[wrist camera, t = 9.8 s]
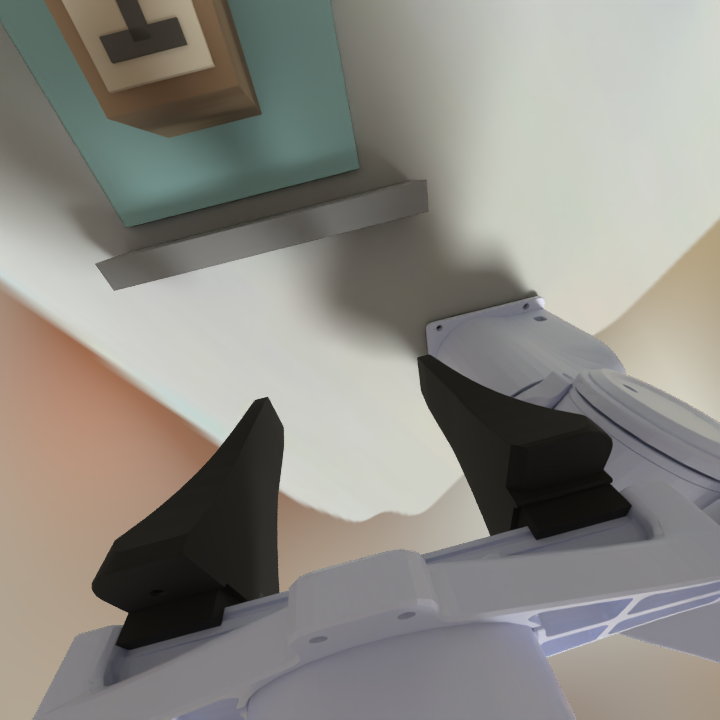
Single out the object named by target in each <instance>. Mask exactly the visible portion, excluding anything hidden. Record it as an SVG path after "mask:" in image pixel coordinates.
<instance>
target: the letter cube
mask: <svg viewBox="0 0 720 720" xmlns="http://www.w3.org/2000/svg"><path fill="white" fill-rule="evenodd" d="M44 1H45V3H46V5H47V7H48V9H49V11H50V13H51V14H52V16H53V18H54V20H55V22H56V24H57V26H58V27H59V29H60V31H61V33H62V35H63V37H64V39H65V41H66V42H67V44H68V46H69V48H70V50H71V52H72V54H73V55H74V57H75V59H76V61H77V63H78V65H79V67H80V68H81V70H82V72H83V74H84V76H85V78H86V80H87V81H88V83H89V85H90V87H91V89H92V91H93V93H94V95H95V96H96V98H97V100H98V102H99V104H100V106H101V108H102V109H103V111H104V113H105V115H106V117H107V119H110V120H113V121H116V122H119V123H122V124H126V125H129V126H132V127H135V128H138V129H142V130H145V131H148V132H151V133H154V134H158V135H161V136H164V137H167V138H171V137H175V136H179V135H183V134H187V133H190V132H194V131H198V130H202V129H206V128H210V127H214V126H218V125H222V124H226V123H230V122H234V121H238V120H242V119H245V118H249V117H253V116H257V115H261V114H262V112H261V109H260V105H259V102H258V99H257V96H256V92H255V89H254V86H253V82H252V79H251V76H250V73H249V69H248V66H247V63H246V59H245V56H244V53H243V50H242V46H241V43H240V40H239V36H238V33H237V30H236V27H235V23H234V20H233V17H232V13H231V10H230V7H229V4H228V0H44Z"/></svg>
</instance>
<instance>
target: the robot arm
mask: <svg viewBox="0 0 720 720" xmlns="http://www.w3.org/2000/svg"><path fill="white" fill-rule="evenodd" d="M544 302H545V300H544V298H542V297H540V296H535V297H531V298H527V299H523V300H519V301H515V302H511V303H507V304H503V305H499V306H495V307H491V308H487V309H483V310H479V311H475V312H471V313H467V314H463V315H458V316H454V317H450V318H446V319H442V320H438V321H434V322H431V323H429V324H428V325H427V326H426V336H427V346H428V355H425V356H422V357H418V358H417V360H418V368H419V377H420V385H421V392H422V394H423V396H424V399H425V401H426V403H427V406H428V408H429V410H430V412H431V413H432V415H433V417H434V418H435V420H436V422H437V423H438V425H439V427H440V429H441V430H442V432H443V434H444V435H445V437H446V439H447V440H448V442H449V444H450V445H451V447H452V449H453V451H454V453H455V455H456V457H457V459H458V461H459V463H460V466H461V468H462V470H463V472H464V474H465V477H466V479H467V481H468V483H469V486H470V488H471V490H472V492H473V495H474V497H475V499H476V502H477V504H478V507H479V509H480V511H481V514H482V516H483V519H484V521H485V523H486V526H487V528H488V531H489V533H490V536H489V537H486V538H482V539H478V540H474V541H471V542H467V543H463V544H460V545H456V546H452V547H449V548H445V549H441V550H438V551H434V552H430V553H426V554H423V555H420V554H419V553H417V552H416V551H412V550H406V549H399V550H392V551H386V552H382V553H379V554H375V555H372V556H367V557H364V558H360V559H356V560H353V561H349V562H345V563H341V564H338V565H334V566H331V567H327V568H323V569H319V570H316V571H312V572H310V573H308V574H305V575H303V576H301V577H299V578H298V579H297V580H296V581H295V582H294V583H293V584H292V585H291V586H290V588H289V591H285V592H281V593H279V579H278V552H277V551H278V550H277V508H278V491H279V483H280V475H281V467H282V459H283V450H284V427H283V425H282V423H281V421H280V419H279V417H278V415H277V413H276V411H275V409H274V408H273V406H272V404H271V402H270V400H269V398H268V397H265V398H261V399H257V400H255V401H254V402H253V404H252V405H251V406H250V408H249V409H248V410H247V412H246V413H245V415H244V416H243V418H242V419H241V420H240V422H239V423H238V424H237V426H236V427H235V429H234V430H233V431H232V433H231V434H230V435H229V437H228V438H227V439H226V440H225V442H224V443H223V444H222V445H221V447H220V448H219V449H218V450H217V452H216V453H215V454H214V455H213V456H212V457H211V459H210V460H209V461H208V462H207V463H206V464H205V465H204V466H203V467H202V468H201V469H200V470H199V471H198V472H197V473H196V474H195V475H194V476H193V477H192V478H191V479H190V480H189V481H188V482H187V483H186V484H185V485H184V486H183V487H182V488H181V489H180V490H179V491H177V492H176V493H175V494H174V495H173V496H172V497H171V498H169V499H168V500H167V501H166V502H165V503H164V504H163V505H161V506H160V507H159V508H158V509H156V510H155V511H154V512H153V513H151V514H150V515H149V516H148V517H146V518H145V519H144V520H142V521H141V522H140V523H138V524H137V525H136V526H134V527H133V528H131V529H130V530H129V531H128V532H126V533H125V534H123V535H122V536H121V537H119V538H118V539H116V540H115V541H114V543H113V545H112V547H111V549H110V551H109V552H108V554H107V556H106V558H105V560H104V562H103V564H102V565H101V567H100V569H99V571H98V573H97V575H96V577H95V578H94V580H93V582H92V590H93V592H94V593H95V595H96V596H97V597H98V598H100V599H102V600H103V601H105V602H107V603H109V604H111V605H113V606H115V607H118V608H120V609H122V610H124V611H126V612H128V616H127V618H126V621H125V623H124V625H112V626H107V627H104V628H99V629H96V630H92V631H88V632H85V633H81V634H79V635H77V636H76V637H75V638H74V640H73V642H72V644H71V646H70V648H69V650H68V652H67V654H66V656H65V658H64V660H63V661H62V663H61V666H60V667H59V669H58V671H57V673H56V675H55V677H54V679H53V681H52V683H51V685H50V687H49V689H48V690H47V692H46V694H45V696H44V698H43V700H42V702H41V704H40V706H39V708H38V710H37V712H36V714H35V716H34V718H33V720H577V719H576V717H575V715H574V712H573V710H572V709H571V707H570V704H569V702H568V700H567V699H566V697H565V694H564V692H563V690H562V688H561V686H560V684H559V682H558V680H557V678H556V676H555V674H554V672H553V670H552V668H551V666H550V664H549V662H548V660H547V657H550V656H553V655H556V654H559V653H562V652H564V651H568V650H571V649H573V648H576V647H579V646H582V645H585V644H588V643H591V642H594V641H597V640H600V639H603V638H606V637H608V636H611V635H614V634H617V633H618V634H621V635H623V636H626V637H630V638H633V639H637V640H640V641H643V642H646V643H650V644H654V645H657V646H661V647H665V648H668V649H672V650H676V651H680V652H683V653H687V654H691V655H694V656H698V657H701V658H704V659H707V660H711V661H714V662H717V663H719V664H720V423H719V422H718V421H716V420H715V419H713V418H711V417H710V416H708V415H706V414H705V413H703V412H701V411H699V410H698V409H696V408H694V407H693V406H691V405H689V404H687V403H685V402H683V401H681V400H680V399H678V398H676V397H674V396H672V395H670V394H668V393H666V392H664V391H662V390H660V389H658V388H656V387H654V386H652V385H650V384H647V383H645V382H643V381H641V380H638V379H636V378H634V377H631V376H629V375H627V374H626V371H625V369H624V367H623V365H622V363H621V361H620V360H619V359H618V357H617V356H616V354H615V353H614V352H613V351H612V350H611V349H610V348H609V347H608V346H607V345H606V344H605V343H603V342H602V341H600V340H599V339H597V338H595V337H593V336H592V335H590V334H588V333H586V332H584V331H583V330H581V329H579V328H577V327H575V326H573V325H572V324H570V323H568V322H566V321H564V320H563V319H561V318H559V317H557V316H555V315H554V314H552V313H550V312H548V311H546V310H544ZM525 304H526V306H525V307H524V308H523V306H524V305H525ZM439 325H441V327H440V328H439V329H436V328H437V326H439Z"/></svg>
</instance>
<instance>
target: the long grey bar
mask: <svg viewBox="0 0 720 720" xmlns="http://www.w3.org/2000/svg"><path fill="white" fill-rule="evenodd" d="M424 212H428V197H427V183H426V180H414V181H407V182H403V183H400V184H396V185H392V186H388V187H384V188H380V189H376V190H372V191H368V192H364V193H360V194H356V195H352V196H348V197H344V198H340V199H336V200H332V201H329V202H325V203H321V204H317V205H313V206H309V207H305V208H301V209H297V210H293V211H289V212H285V213H281V214H277V215H273V216H269V217H265V218H261V219H257V220H254V221H250V222H246V223H242V224H238V225H234V226H230V227H226V228H222V229H218V230H214V231H210V232H206V233H202V234H198V235H194V236H190V237H186V238H183V239H179V240H175V241H171V242H167V243H163V244H159V245H155V246H151V247H147V248H143V249H139V250H135V251H131V252H127V253H125V254H122V255H119V256H116V257H113V258H110V259H107V260H104V261H102V262H99V263H96V264H95V265H96V266H97V267H98V269H99V270H100V272H101V273H102V274H103V276H104V277H105V279H106V280H107V281H108V283H109V284H110V286H111V287H112V289H113V290H114V291H115V290H119V289H123V288H127V287H131V286H135V285H139V284H143V283H147V282H151V281H155V280H159V279H163V278H167V277H171V276H175V275H179V274H183V273H187V272H191V271H194V270H198V269H202V268H206V267H210V266H214V265H218V264H222V263H226V262H230V261H234V260H238V259H242V258H246V257H250V256H254V255H258V254H262V253H266V252H270V251H274V250H278V249H282V248H286V247H290V246H294V245H298V244H302V243H306V242H309V241H313V240H317V239H321V238H325V237H329V236H333V235H337V234H341V233H345V232H349V231H353V230H357V229H361V228H365V227H369V226H373V225H377V224H381V223H385V222H389V221H393V220H397V219H401V218H405V217H409V216H413V215H417V214H420V213H424Z"/></svg>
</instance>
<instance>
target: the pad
mask: <svg viewBox="0 0 720 720" xmlns="http://www.w3.org/2000/svg"><path fill="white" fill-rule="evenodd" d="M228 4H229V7H230V10H231V13H232V17H233V20H234V23H235V27H236V30H237V33H238V36H239V40H240V43H241V46H242V50H243V53H244V56H245V59H246V63H247V66H248V69H249V73H250V76H251V79H252V82H253V86H254V89H255V92H256V96H257V99H258V102H259V105H260V109H261V112H262V114H261V115H257V116H253V117H249V118H245V119H242V120H238V121H234V122H230V123H226V124H222V125H218V126H214V127H210V128H206V129H202V130H198V131H194V132H190V133H187V134H183V135H179V136H175V137H171V138H167V137H164V136H161V135H158V134H154V133H151V132H148V131H145V130H142V129H138V128H135V127H132V126H129V125H126V124H122V123H119V122H116V121H113V120H110V119H107V117H106V115H105V113H104V111H103V109H102V108H101V106H100V104H99V102H98V100H97V98H96V96H95V95H94V93H93V91H92V89H91V87H90V85H89V83H88V81H87V80H86V78H85V76H84V74H83V72H82V70H81V68H80V67H79V65H78V63H77V61H76V59H75V57H74V55H73V54H72V52H71V50H70V48H69V46H68V44H67V42H66V41H65V39H64V37H63V35H62V33H61V31H60V29H59V27H58V26H57V24H56V22H55V20H54V18H53V16H52V14H51V13H50V11H49V9H48V7H47V5H46V3H45V1H44V0H0V21H1V23H2V25H3V26H4V28H5V30H6V31H7V33H8V34H9V36H10V38H11V39H12V41H13V43H14V44H15V46H16V48H17V49H18V51H19V53H20V54H21V56H22V57H23V59H24V61H25V62H26V64H27V66H28V67H29V69H30V71H31V72H32V74H33V75H34V77H35V79H36V80H37V82H38V84H39V85H40V87H41V89H42V90H43V92H44V94H45V95H46V97H47V98H48V100H49V102H50V103H51V105H52V107H53V108H54V110H55V112H56V113H57V115H58V117H59V118H60V120H61V121H62V123H63V125H64V126H65V128H66V130H67V131H68V133H69V135H70V136H71V138H72V140H73V141H74V143H75V144H76V146H77V148H78V149H79V151H80V153H81V154H82V156H83V158H84V159H85V161H86V162H87V164H88V166H89V167H90V169H91V171H92V172H93V174H94V176H95V177H96V179H97V181H98V182H99V184H100V185H101V187H102V189H103V190H104V192H105V194H106V195H107V197H108V199H109V200H110V202H111V204H112V205H113V207H114V208H115V210H116V212H117V213H118V215H119V217H120V218H121V220H122V222H123V223H124V225H125V227H126V228H127V227H131V226H135V225H139V224H143V223H147V222H151V221H155V220H159V219H163V218H167V217H171V216H175V215H179V214H182V213H186V212H190V211H194V210H198V209H202V208H206V207H210V206H214V205H218V204H222V203H226V202H230V201H234V200H238V199H241V198H245V197H249V196H253V195H257V194H261V193H265V192H269V191H273V190H277V189H281V188H285V187H289V186H293V185H296V184H300V183H304V182H308V181H312V180H316V179H320V178H324V177H328V176H332V175H336V174H340V173H344V172H348V171H352V170H355V169H359V162H358V156H357V151H356V145H355V139H354V134H353V128H352V122H351V117H350V111H349V105H348V100H347V94H346V88H345V83H344V77H343V71H342V66H341V60H340V54H339V49H338V43H337V37H336V32H335V26H334V20H333V15H332V9H331V3H330V0H228Z"/></svg>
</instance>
